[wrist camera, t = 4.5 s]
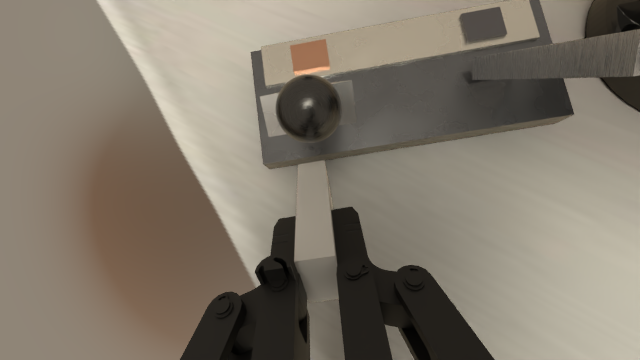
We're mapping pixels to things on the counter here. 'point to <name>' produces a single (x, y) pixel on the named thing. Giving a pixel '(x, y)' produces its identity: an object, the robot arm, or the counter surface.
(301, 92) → the outer lever
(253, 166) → the counter surface
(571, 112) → the switch base
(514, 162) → the counter surface
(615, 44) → the inner lever
